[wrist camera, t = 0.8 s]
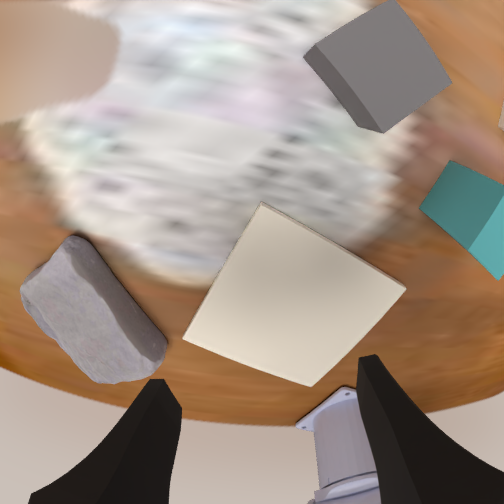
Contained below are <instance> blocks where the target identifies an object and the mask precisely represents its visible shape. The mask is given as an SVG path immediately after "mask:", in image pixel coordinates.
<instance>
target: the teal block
mask: <svg viewBox="0 0 504 504" xmlns="http://www.w3.org/2000/svg"><path fill="white" fill-rule="evenodd" d="M419 209H420V210H421V211H423V212H424V213H425V214H426V215H427V216H429V217H430V218H431V219H432V220H433V221H434V222H436V223H437V224H438V225H439V226H440V227H441V228H442V229H444V230H445V231H446V232H447V233H448V234H449V235H450V236H451V237H453V238H454V239H455V240H456V241H457V242H458V243H459V244H460V245H461V246H463V247H464V248H465V249H466V250H467V251H468V252H469V253H470V254H471V255H472V256H473V257H474V258H475V259H476V260H478V261H479V262H480V263H481V264H482V265H483V266H484V267H485V268H486V269H487V270H488V271H489V272H490V273H491V274H492V275H493V276H494V277H495V278H496V279H497V280H498V281H499V279H500V278H501V277H502V275H503V274H504V185H502V184H500V183H498V182H496V181H494V180H492V179H490V178H488V177H486V176H484V175H482V174H480V173H478V172H475V171H473V170H471V169H469V168H467V167H464V166H462V165H460V164H458V163H455V162H453V161H449V162H448V164H447V166H446V167H445V169H444V170H443V172H442V174H441V175H440V177H439V178H438V180H437V181H436V183H435V185H434V186H433V188H432V189H431V191H430V192H429V194H428V195H427V197H426V198H425V200H424V201H423V203H422V204H421V206H420V207H419Z"/></svg>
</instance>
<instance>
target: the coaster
mask: <svg viewBox="0 0 504 504" xmlns="http://www.w3.org/2000/svg"><path fill="white" fill-rule="evenodd" d="M405 290H406V287H405V286H404V284H402V283H401V282H399V281H397V280H396V279H394V278H393V277H391V276H389V275H388V274H386V273H384V272H383V271H381V270H380V269H378V268H376V267H375V266H373V265H371V264H370V263H368V262H366V261H365V260H363V259H361V258H360V257H358V256H356V255H355V254H353V253H351V252H350V251H348V250H346V249H345V248H343V247H341V246H339V245H338V244H336V243H334V242H333V241H331V240H329V239H327V238H326V237H324V236H322V235H320V234H319V233H317V232H315V231H313V230H312V229H310V228H308V227H306V226H305V225H303V224H301V223H299V222H297V221H296V220H294V219H292V218H290V217H288V216H287V215H285V214H283V213H281V212H279V211H278V210H276V209H274V208H272V207H270V206H268V205H267V204H265V203H263V202H261V203H260V205H259V206H258V208H257V210H256V211H255V213H254V215H253V216H252V218H251V220H250V221H249V223H248V225H247V226H246V228H245V230H244V231H243V233H242V235H241V236H240V238H239V240H238V241H237V243H236V245H235V247H234V248H233V250H232V252H231V253H230V255H229V257H228V258H227V260H226V262H225V263H224V265H223V267H222V269H221V270H220V272H219V274H218V275H217V277H216V279H215V281H214V282H213V284H212V286H211V287H210V289H209V291H208V293H207V294H206V296H205V298H204V299H203V301H202V303H201V305H200V306H199V308H198V310H197V311H196V313H195V315H194V317H193V318H192V320H191V322H190V324H189V325H188V327H187V329H186V331H185V332H184V335H183V338H182V339H184V340H186V341H188V342H190V343H193V344H195V345H197V346H200V347H202V348H205V349H207V350H209V351H212V352H214V353H217V354H219V355H222V356H224V357H227V358H229V359H232V360H234V361H237V362H240V363H242V364H245V365H248V366H250V367H253V368H256V369H258V370H261V371H264V372H267V373H270V374H272V375H275V376H278V377H281V378H284V379H287V380H290V381H293V382H296V383H299V384H303V385H306V386H309V387H312V386H313V385H314V384H315V383H316V382H318V381H319V380H320V379H321V378H322V377H323V376H324V375H325V374H326V373H327V372H328V371H329V370H331V369H332V368H333V367H334V366H335V365H336V364H337V363H338V362H339V361H340V360H341V359H342V358H343V357H344V356H345V355H346V354H347V353H348V352H349V351H350V350H351V349H352V348H353V347H354V346H355V345H356V344H357V343H358V342H359V341H360V340H361V339H362V338H363V337H364V336H365V335H366V334H367V333H368V332H369V331H370V330H371V328H372V327H373V326H374V325H375V324H376V323H377V322H378V321H379V320H380V319H381V318H382V317H383V315H384V314H385V313H386V312H387V311H388V310H389V309H390V308H391V306H392V305H393V304H394V303H395V302H396V301H397V300H398V298H399V297H400V296H401V295H402V294H403V293H404V291H405Z"/></svg>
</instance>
